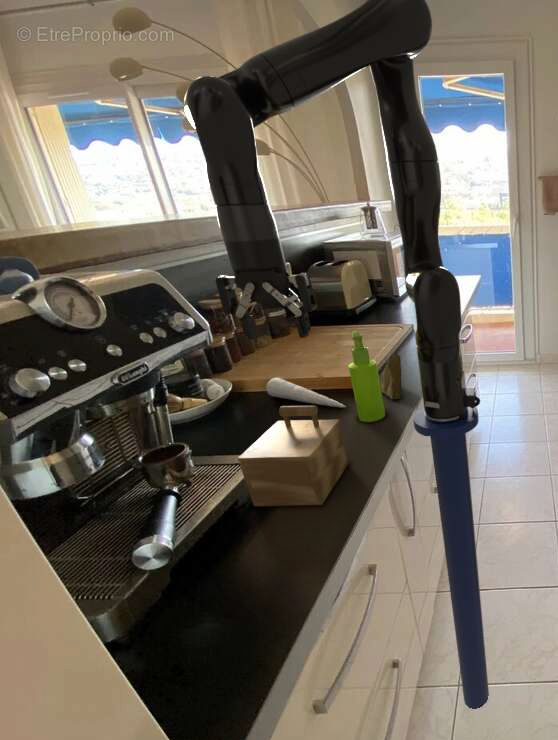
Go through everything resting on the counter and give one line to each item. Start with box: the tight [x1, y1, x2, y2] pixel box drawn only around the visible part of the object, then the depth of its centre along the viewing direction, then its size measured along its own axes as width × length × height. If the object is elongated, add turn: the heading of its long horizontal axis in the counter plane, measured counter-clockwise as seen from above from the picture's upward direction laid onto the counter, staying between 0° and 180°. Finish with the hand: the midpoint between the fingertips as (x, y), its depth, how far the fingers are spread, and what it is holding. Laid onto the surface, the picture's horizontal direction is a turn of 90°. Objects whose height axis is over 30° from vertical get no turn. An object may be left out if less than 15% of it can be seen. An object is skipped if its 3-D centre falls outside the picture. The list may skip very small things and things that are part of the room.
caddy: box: [238, 424, 349, 507], centre depth 79 cm, size 12×11×9 cm
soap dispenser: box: [348, 330, 386, 423], centre depth 101 cm, size 6×7×20 cm
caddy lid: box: [237, 405, 341, 463], centre depth 76 cm, size 13×11×5 cm
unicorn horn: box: [265, 377, 347, 408], centre depth 111 cm, size 5×24×5 cm, turn 65°
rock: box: [380, 352, 402, 400], centre depth 115 cm, size 11×9×10 cm
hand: (279, 337), depth 76 cm, fingers open, 8 cm apart
